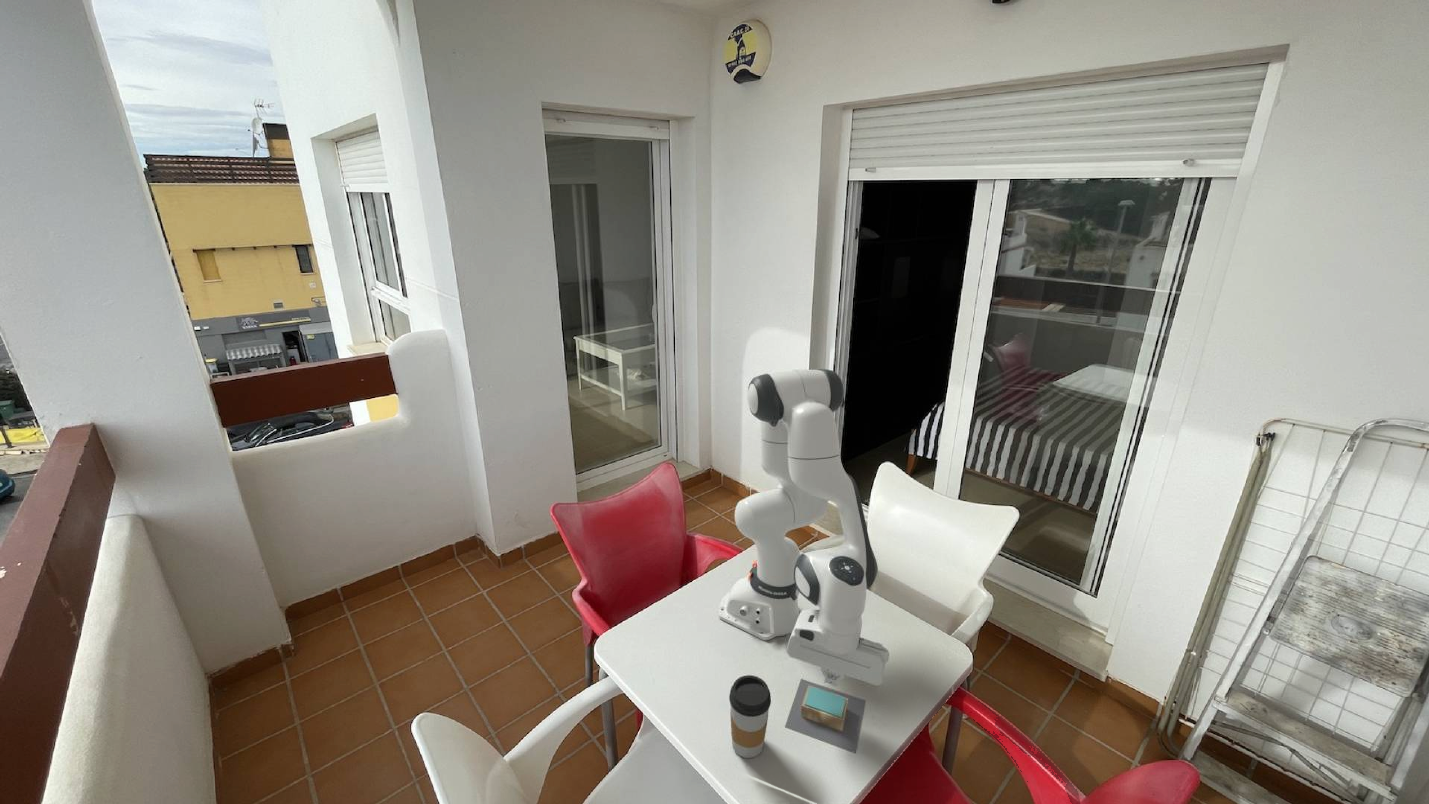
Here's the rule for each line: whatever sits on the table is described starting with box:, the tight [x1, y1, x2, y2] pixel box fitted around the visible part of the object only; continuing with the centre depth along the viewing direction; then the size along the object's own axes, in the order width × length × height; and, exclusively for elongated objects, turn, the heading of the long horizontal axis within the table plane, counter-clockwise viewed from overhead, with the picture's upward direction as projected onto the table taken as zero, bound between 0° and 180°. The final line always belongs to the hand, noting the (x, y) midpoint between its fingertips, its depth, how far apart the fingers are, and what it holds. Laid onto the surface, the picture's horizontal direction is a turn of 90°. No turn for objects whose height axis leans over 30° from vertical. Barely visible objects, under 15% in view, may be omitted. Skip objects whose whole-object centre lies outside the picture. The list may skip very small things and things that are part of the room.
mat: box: [784, 678, 866, 754], centre depth 120 cm, size 15×14×1 cm
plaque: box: [801, 685, 848, 731], centre depth 119 cm, size 3×6×9 cm
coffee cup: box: [728, 674, 772, 759], centre depth 110 cm, size 8×8×15 cm
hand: (831, 682), depth 117 cm, fingers closed
